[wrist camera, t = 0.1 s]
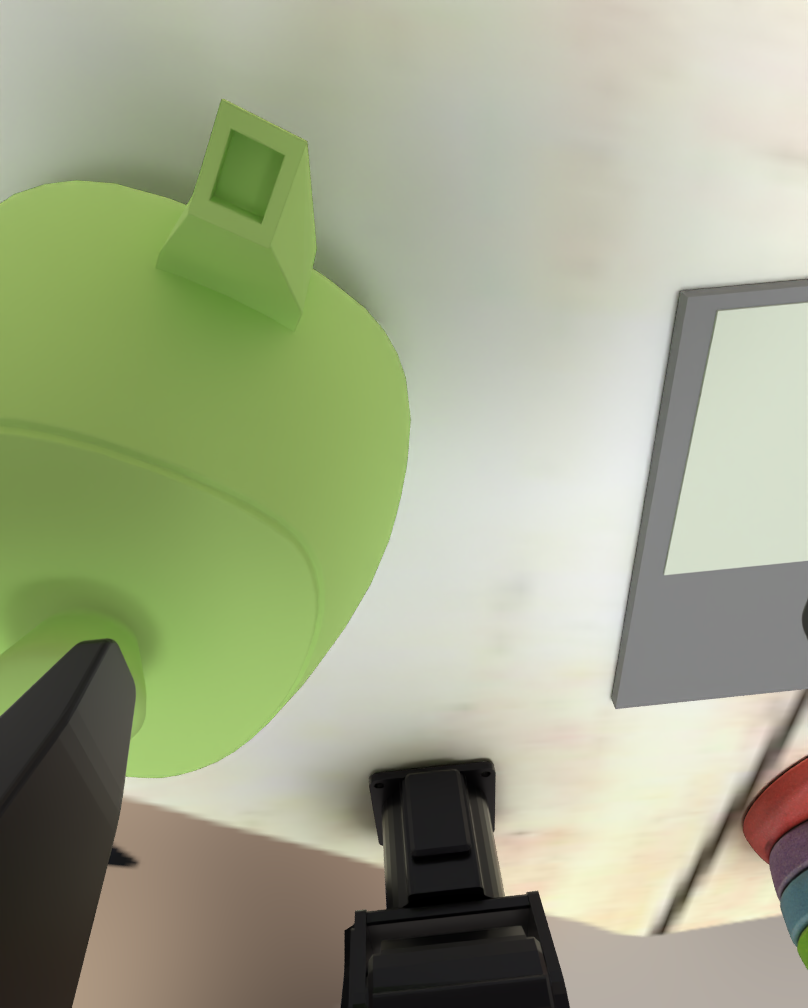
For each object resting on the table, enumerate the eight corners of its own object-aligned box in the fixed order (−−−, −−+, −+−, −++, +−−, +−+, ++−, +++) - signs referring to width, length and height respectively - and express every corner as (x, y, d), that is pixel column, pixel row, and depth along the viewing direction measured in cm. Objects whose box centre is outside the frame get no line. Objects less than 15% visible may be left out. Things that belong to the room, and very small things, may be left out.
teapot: (43, -83, 16) (-539, -283, 5) (526, 208, 20) (722, 409, 10) (-78, 542, 25) (-368, 903, 15) (266, 646, 30) (226, 980, 19)
